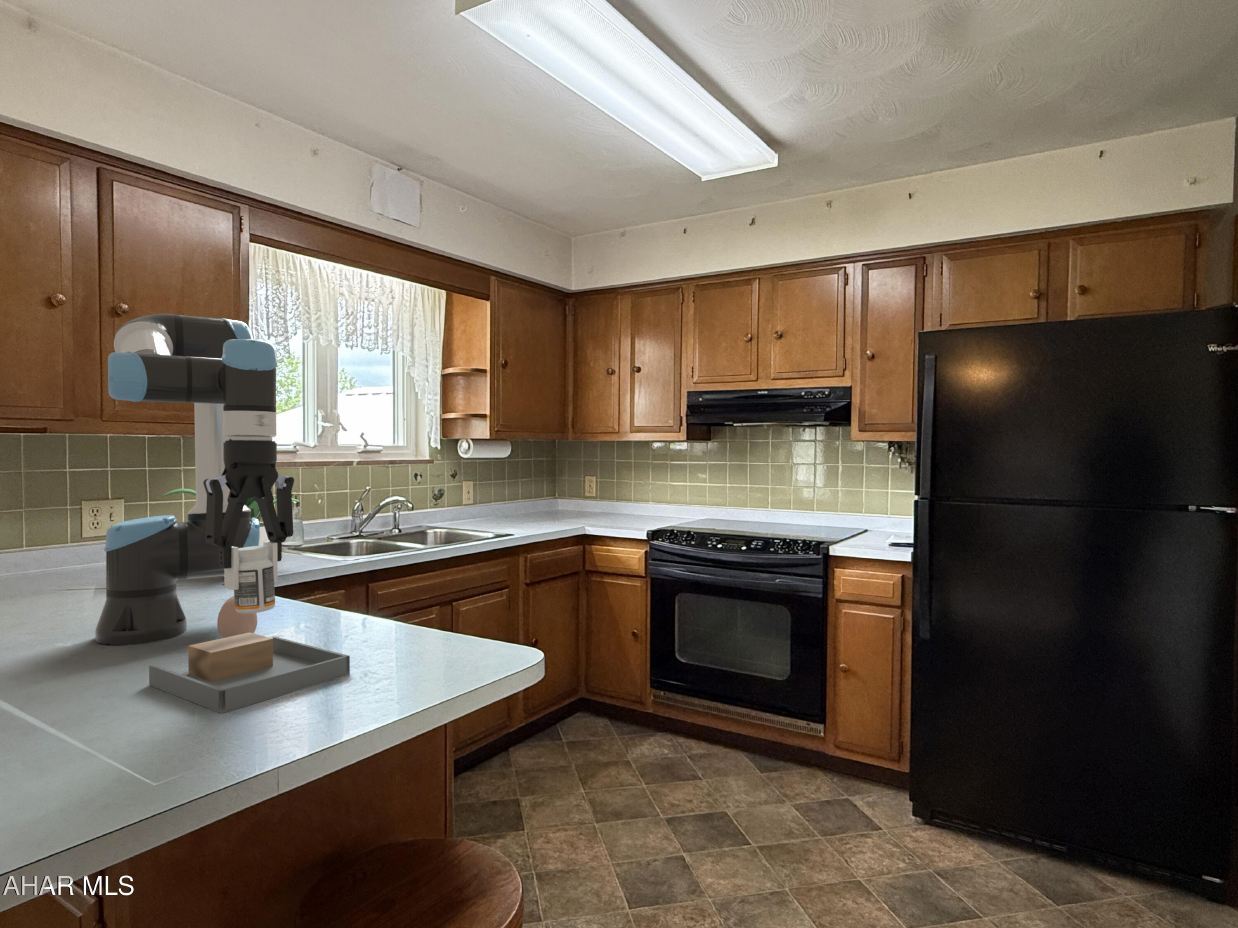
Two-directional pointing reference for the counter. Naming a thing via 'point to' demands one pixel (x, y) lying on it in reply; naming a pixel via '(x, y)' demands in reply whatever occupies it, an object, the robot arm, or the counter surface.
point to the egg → (235, 620)
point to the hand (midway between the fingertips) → (251, 585)
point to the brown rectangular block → (230, 656)
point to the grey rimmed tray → (256, 677)
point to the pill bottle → (254, 581)
